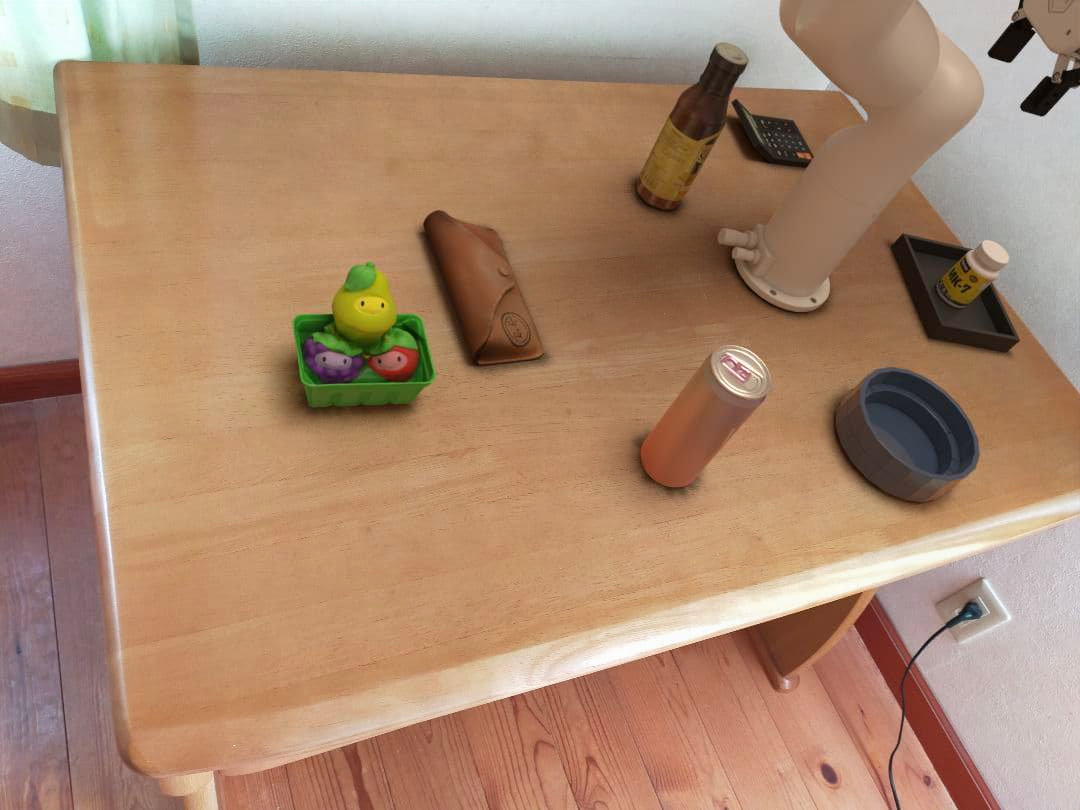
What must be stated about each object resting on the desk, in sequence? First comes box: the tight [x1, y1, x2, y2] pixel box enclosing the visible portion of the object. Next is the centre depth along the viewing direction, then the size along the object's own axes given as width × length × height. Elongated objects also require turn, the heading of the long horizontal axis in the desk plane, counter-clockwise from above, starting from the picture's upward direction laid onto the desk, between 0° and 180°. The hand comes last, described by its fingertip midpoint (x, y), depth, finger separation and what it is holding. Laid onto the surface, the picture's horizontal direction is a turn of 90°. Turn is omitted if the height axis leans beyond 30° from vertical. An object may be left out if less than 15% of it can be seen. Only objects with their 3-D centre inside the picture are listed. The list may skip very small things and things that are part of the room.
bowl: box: [835, 366, 981, 503], centre depth 94 cm, size 14×14×5 cm
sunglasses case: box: [422, 209, 544, 366], centre depth 89 cm, size 18×7×7 cm, turn 21°
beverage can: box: [640, 344, 772, 488], centre depth 79 cm, size 6×6×15 cm
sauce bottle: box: [635, 41, 750, 211], centre depth 102 cm, size 7×6×20 cm
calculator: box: [731, 98, 815, 169], centre depth 124 cm, size 9×12×3 cm
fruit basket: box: [291, 261, 437, 409], centre depth 75 cm, size 11×9×11 cm
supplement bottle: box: [936, 239, 1010, 308], centre depth 113 cm, size 5×5×8 cm
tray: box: [891, 232, 1021, 353], centre depth 115 cm, size 16×12×2 cm
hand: (1014, 84), depth 97 cm, fingers open, 9 cm apart
